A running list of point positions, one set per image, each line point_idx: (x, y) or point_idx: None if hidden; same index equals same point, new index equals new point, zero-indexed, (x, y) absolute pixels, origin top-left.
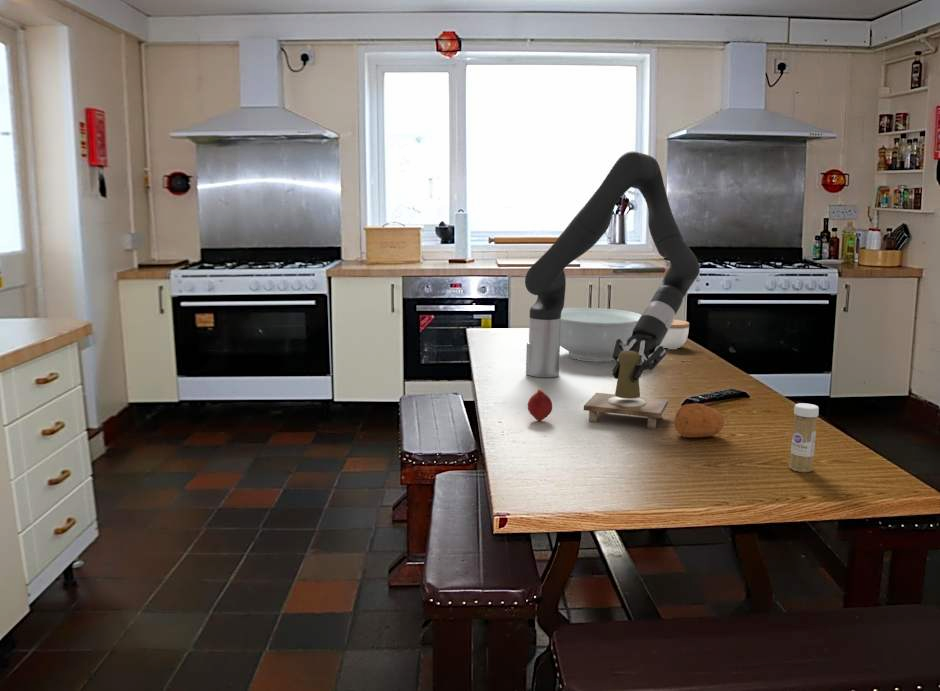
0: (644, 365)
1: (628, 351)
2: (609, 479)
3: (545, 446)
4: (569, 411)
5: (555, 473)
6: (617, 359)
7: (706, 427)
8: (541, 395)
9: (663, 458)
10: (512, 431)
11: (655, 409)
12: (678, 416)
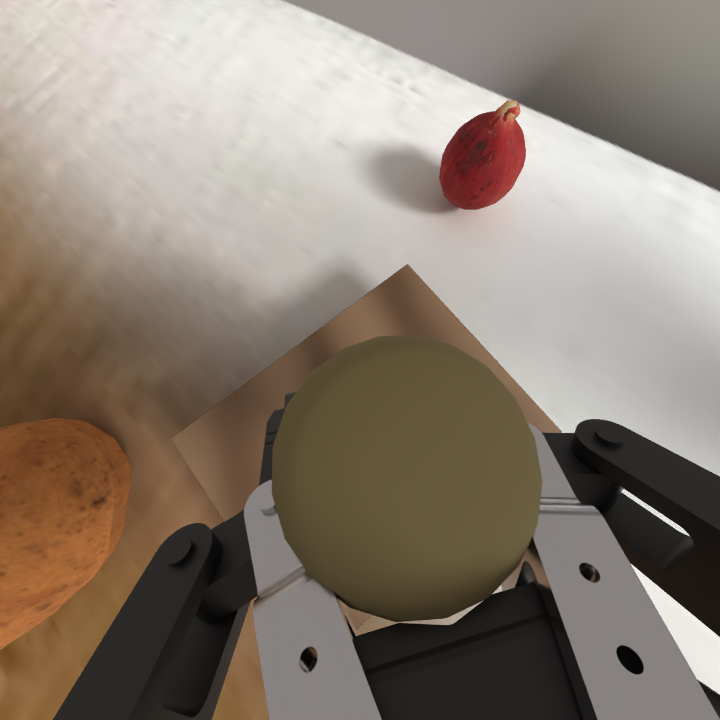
0: (231, 521)
1: (396, 435)
2: (25, 86)
3: (272, 104)
4: (521, 332)
5: (124, 33)
6: (531, 427)
7: None
8: (480, 120)
9: (27, 263)
10: (409, 107)
11: (222, 465)
12: (41, 430)
